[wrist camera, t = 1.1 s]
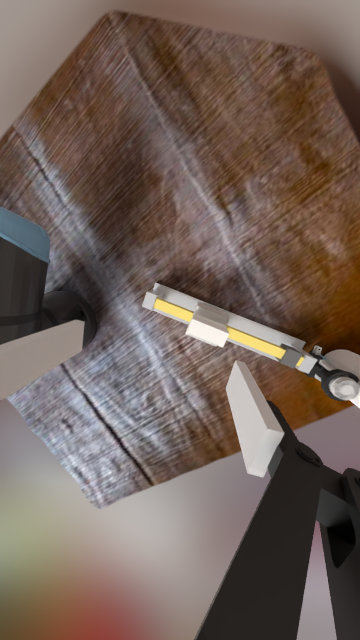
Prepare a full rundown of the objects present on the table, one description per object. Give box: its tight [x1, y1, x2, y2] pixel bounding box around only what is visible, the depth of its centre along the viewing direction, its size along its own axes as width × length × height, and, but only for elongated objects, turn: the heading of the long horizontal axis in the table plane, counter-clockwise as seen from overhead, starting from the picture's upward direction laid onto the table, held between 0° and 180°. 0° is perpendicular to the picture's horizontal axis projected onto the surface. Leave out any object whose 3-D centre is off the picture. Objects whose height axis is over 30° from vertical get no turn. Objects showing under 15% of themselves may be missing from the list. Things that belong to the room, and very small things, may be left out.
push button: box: [304, 346, 360, 401], centre depth 32 cm, size 7×5×10 cm
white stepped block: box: [185, 302, 230, 348], centre depth 31 cm, size 6×6×10 cm
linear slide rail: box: [142, 283, 317, 374], centre depth 35 cm, size 34×6×7 cm, turn 70°
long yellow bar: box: [153, 298, 304, 368], centre depth 32 cm, size 32×3×3 cm, turn 70°
